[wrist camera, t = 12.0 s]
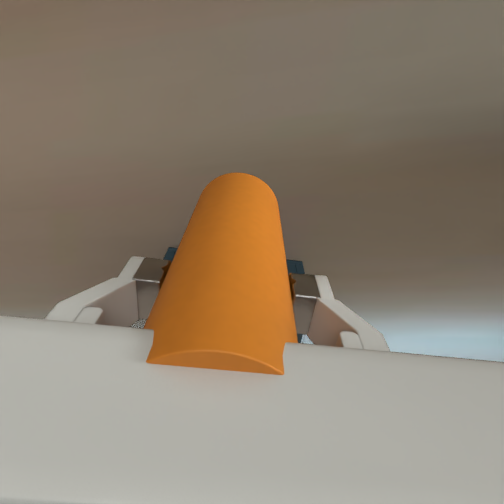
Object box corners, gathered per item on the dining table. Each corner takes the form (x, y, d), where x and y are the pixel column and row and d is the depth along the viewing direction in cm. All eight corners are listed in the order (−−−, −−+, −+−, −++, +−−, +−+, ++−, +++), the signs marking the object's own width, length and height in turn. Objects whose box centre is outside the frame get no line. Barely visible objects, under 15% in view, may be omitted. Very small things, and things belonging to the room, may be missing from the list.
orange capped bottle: (284, 177, 18) (351, 459, 5) (272, 250, 21) (297, 568, 8) (199, 167, 18) (48, 435, 5) (196, 243, 20) (91, 555, 7)
